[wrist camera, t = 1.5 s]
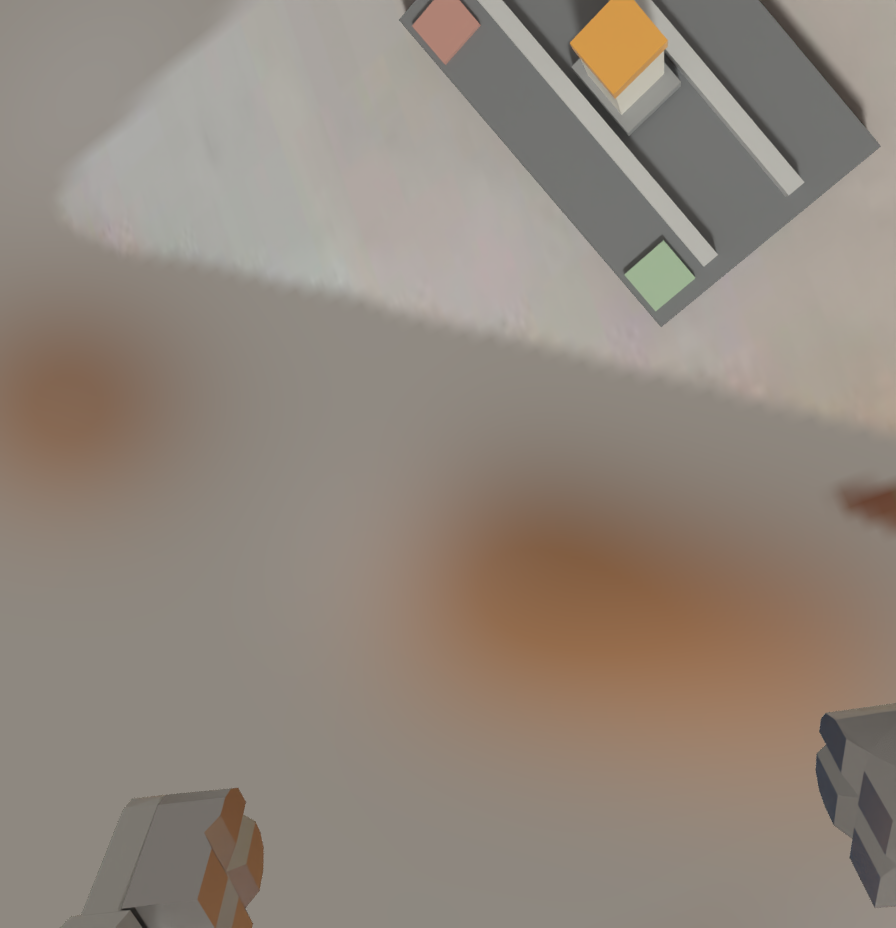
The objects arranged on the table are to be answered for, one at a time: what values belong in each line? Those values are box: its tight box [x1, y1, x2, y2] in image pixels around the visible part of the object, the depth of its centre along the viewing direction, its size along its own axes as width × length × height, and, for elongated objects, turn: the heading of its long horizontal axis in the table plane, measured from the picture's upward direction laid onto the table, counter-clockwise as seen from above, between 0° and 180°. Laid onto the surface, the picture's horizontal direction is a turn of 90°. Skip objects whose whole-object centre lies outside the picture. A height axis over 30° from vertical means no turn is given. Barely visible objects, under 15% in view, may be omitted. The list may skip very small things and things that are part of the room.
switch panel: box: [399, 0, 881, 327], centre depth 36 cm, size 20×12×3 cm, turn 43°
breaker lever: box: [570, 0, 681, 136], centre depth 32 cm, size 4×3×7 cm
